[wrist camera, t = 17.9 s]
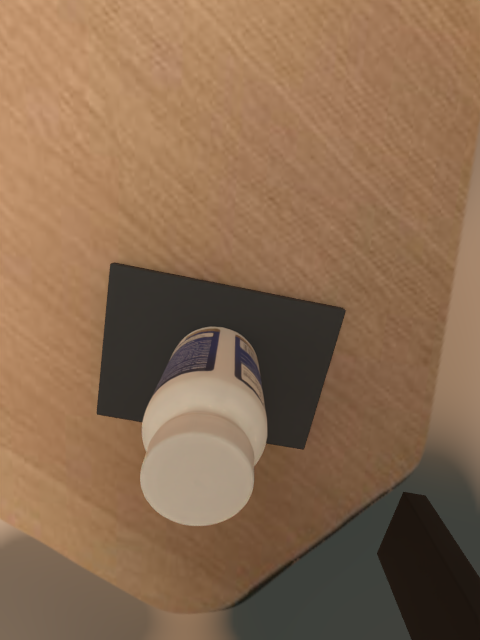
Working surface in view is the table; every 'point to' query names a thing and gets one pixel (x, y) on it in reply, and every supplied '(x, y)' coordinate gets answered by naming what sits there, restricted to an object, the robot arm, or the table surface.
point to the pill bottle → (204, 429)
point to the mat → (214, 311)
